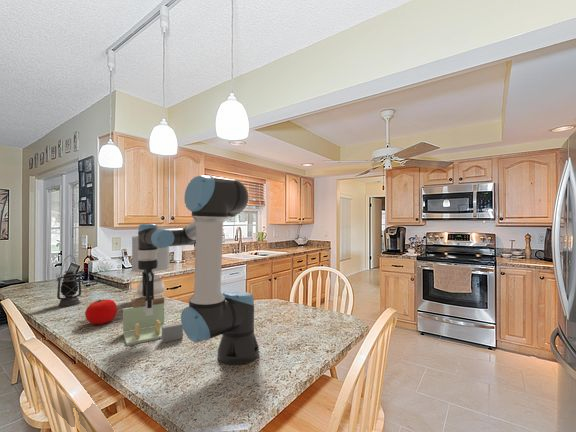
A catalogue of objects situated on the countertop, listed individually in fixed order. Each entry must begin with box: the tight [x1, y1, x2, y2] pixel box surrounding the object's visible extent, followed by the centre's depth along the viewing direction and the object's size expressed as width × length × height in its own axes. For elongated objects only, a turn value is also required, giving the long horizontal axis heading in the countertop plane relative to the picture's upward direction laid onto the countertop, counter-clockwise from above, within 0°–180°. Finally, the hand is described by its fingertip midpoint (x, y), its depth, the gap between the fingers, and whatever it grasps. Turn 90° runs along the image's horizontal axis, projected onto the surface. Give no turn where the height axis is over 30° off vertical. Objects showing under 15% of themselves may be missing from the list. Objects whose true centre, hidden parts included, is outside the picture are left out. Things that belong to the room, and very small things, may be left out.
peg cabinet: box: [122, 302, 166, 346], centre depth 129 cm, size 16×17×11 cm
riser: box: [161, 322, 184, 344], centre depth 123 cm, size 2×8×6 cm, turn 124°
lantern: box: [56, 254, 82, 308], centre depth 178 cm, size 12×11×30 cm
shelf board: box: [130, 295, 165, 308], centre depth 126 cm, size 6×12×2 cm, turn 124°
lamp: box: [131, 235, 170, 298], centre depth 189 cm, size 22×22×40 cm
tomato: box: [84, 299, 118, 325], centre depth 144 cm, size 12×14×11 cm
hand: (147, 313), depth 126 cm, fingers closed on shelf board, 6 cm apart
